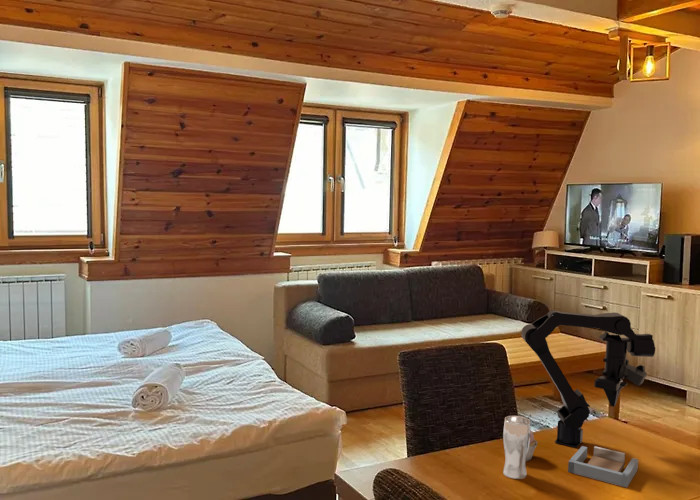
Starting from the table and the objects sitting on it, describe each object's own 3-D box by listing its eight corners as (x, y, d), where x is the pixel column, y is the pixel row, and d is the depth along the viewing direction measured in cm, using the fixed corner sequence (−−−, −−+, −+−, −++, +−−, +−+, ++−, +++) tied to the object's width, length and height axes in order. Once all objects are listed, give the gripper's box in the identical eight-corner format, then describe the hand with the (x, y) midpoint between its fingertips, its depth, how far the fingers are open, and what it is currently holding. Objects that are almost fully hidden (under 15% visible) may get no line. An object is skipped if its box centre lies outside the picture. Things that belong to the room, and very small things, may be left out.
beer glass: (513, 482, 163) (516, 426, 162) (496, 471, 169) (498, 417, 168) (533, 477, 166) (536, 422, 165) (515, 466, 172) (518, 413, 171)
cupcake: (521, 448, 185) (523, 415, 184) (543, 460, 177) (545, 426, 176) (496, 453, 181) (497, 419, 180) (517, 466, 173) (519, 430, 172)
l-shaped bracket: (584, 471, 170) (585, 457, 170) (594, 459, 178) (594, 446, 178) (616, 480, 166) (617, 465, 165) (624, 467, 174) (624, 453, 173)
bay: (567, 471, 170) (568, 461, 170) (581, 455, 181) (582, 445, 181) (627, 487, 161) (627, 476, 161) (637, 469, 172) (638, 459, 172)
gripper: (635, 366, 175) (632, 420, 177) (652, 354, 190) (649, 404, 191) (595, 359, 182) (592, 411, 184) (614, 348, 197) (611, 396, 198)
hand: (612, 406), depth 189 cm, fingers closed
